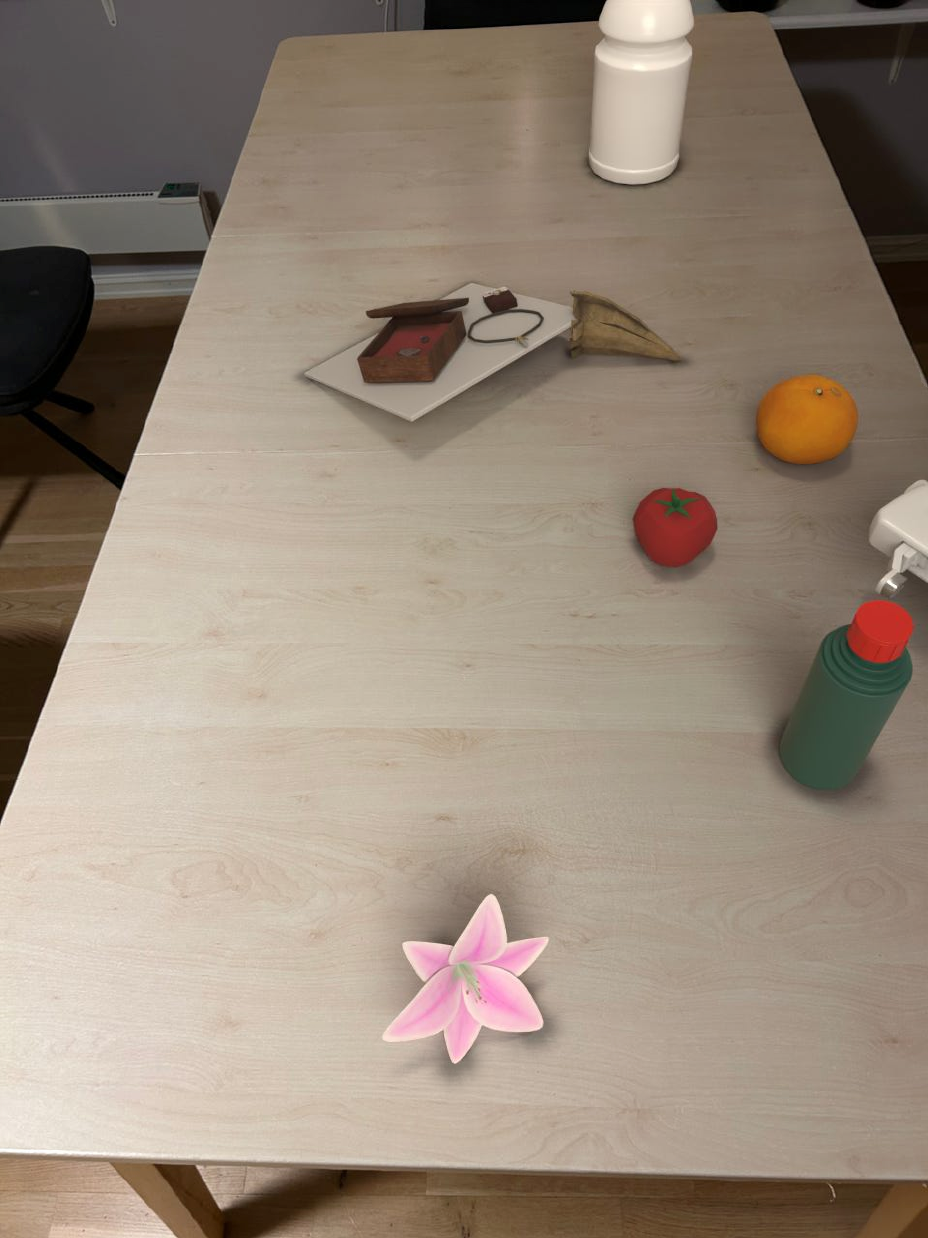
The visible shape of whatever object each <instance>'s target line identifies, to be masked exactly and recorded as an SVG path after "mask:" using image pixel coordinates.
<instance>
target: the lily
mask: <svg viewBox="0 0 928 1238" xmlns="http://www.w3.org/2000/svg"><path fill="white" fill-rule="evenodd" d="M549 940H550V938H549V937H548V936H539V937H532V938H526V939H521V940H516V941H515V940H514V941H510V942H508V935H507V930H506V925H505V920H504V915H503V912H502V908H501V906H500V903H499V901H498V899H497V897H496V896H495V895H494V894H493V893H490V894H488V895H487V896H486V897H484V899H483V900H482V902H481V903H480V904H479V906H478V908H477V909H476V911H475V913H474V914H473V916H472V917H471V919H470V921H469V922H468V924H467V925H466V927H465V929H464V930H463V932H462V933H461V935H460V936H459V938H458V939H457V940H456V942H455V944H454V945H449V944H446V943H445V944H443V943H437V942H429V941H415V940H411V941H410V940H407V941H404V942H402V949H403V952H404V955H405V957H406V958H407V960H408V962H409V964H410V965H411V967H412V969H413V970H414V971H415V973H416V974H417V976H418V977H419V978H420V979H421V981H422V982H423V983H424V986H423V987H422V988H420V990H419V991H418V992H417V994H416V995H415V996H414V997H413V999H412V1000H411V1001H410V1002H409V1003H408V1004H407V1006H406V1007H404V1009H403V1010H402V1011H401V1012H400V1013H399V1014H398V1015H397V1017H396V1018H395V1019H394V1020H393V1021H392V1022H391V1023H389V1025H388V1027H387V1028H386V1029H385V1031H384V1032H383V1033H382V1037H381V1040H382V1041H384V1042H388V1043H398V1042H408V1041H414V1040H419V1039H424V1038H427V1037H430V1036H434V1035H437V1034H439V1033H440V1032H442V1031H443V1037H444V1042H445V1045H446V1049H447V1053H448V1055H449V1056H448V1057H449V1058H450V1061H451V1063H452V1064H455V1065H456V1064H457V1063H459V1062H461V1060H462V1059H463V1058H464V1057H465V1056H466V1054H467V1053H468V1051H469V1050H470V1048H471V1047H472V1045H473V1044H474V1043H475V1041H476V1039H477V1037H478V1035H479V1033H480V1031H481V1029H482V1027H485V1028H488V1029H491V1030H493V1031H499V1032H506V1033H507V1032H508V1033H529V1032H536V1031H539V1030H541V1029H542V1028H543V1027H544V1019H543V1015H542V1013H541V1012H540V1009H539V1007H538V1005H537V1003H536V1001H535V1000H534V998H533V997H532V995H531V993H530V992H529V990H528V989H527V987H526V986H525V984H524V983H523V982H522V981H521V980H520V979H519V978H518V977H520V976H521V975H522V974H523V973H524V972H525V971H527V969H528V968H530V966H531V965H532V964H533V963H535V961H536V960H537V958H538V957H539V956H540V955H541V953H542V952H543V951H544V949H545V948H546V946H547V945H548V944H549Z"/></svg>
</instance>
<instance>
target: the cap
mask: <svg viewBox="0 0 928 1238" xmlns="http://www.w3.org/2000/svg"><path fill="white" fill-rule="evenodd" d="M850 624H851V625H850V627H849V630H848V632H847V634H846V635H847V641H848V644H849V646H850V648H851V649H852V650H853V651H854V652H855V653H856V654H857V655H858V656H860V657H861V658H863V659H865V660H868V661H871V662H876V663H886V662H890V661H893V660H895V659H896V658H898V657H899V656H901V654H902V652H903V650H904V648H905V647H906V646H907V645H908V642H909V640H910V638H911V637H912V634H913V632H914V628H915V627H914V626H915V625H914V620H913V619H912V616H911V615H910V614H909V612H907V610H906V609H905V608H903V607H902V606H900V605H899V604H896V603H894V602H892V601H889V600H883V599H875V600H874V599H873V600H868V601H865V602H864V603H863V604H860V606H859V607H858V608H857V610H856V611H855V613H854V617H853V619H852V621H851V623H850Z"/></svg>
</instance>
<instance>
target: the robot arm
mask: <svg viewBox="0 0 928 1238" xmlns="http://www.w3.org/2000/svg"><path fill="white" fill-rule="evenodd" d="M868 542H869V544H870V545H871V546H872V547H873V548H875V549H876V550H878V551H880V552H881V553H883V555H886V556H887V557H888V558H890V560H889V561H888V563H887V568H886V574H885V575H883V577H882V578H881V579H880V580H879V581H878V582H877V584H876V587H875V588H874V591H875V592H876V593H878V594H879V596H882V597H883V598H885V599H886V600H887V601H888V602H891V601H892V600H893V599H894V597H895V596H897V595H899V594H900V593H901V592H902V590H903V588H904V585H906V583H907V581H908V578H907V577H905V576H904V575H902V574H903V573H904V572H905V571H909V572H911V573H912V574H913V575H915V576H916V577H918V578H920V579H921V580H922V581H923V582H925V583H927V584H928V480H925V479H918V480H917V481H915V482H913V483H912V484H911V485H910V486H908V487H907V488H905V490H904V491H903V492H902V494H901V495H899V496H897V497H895V498H893V500H891V501H888V503H886V504H885V505H883V506H882V507H881V508H880V509H879V510H877V512H876V514H875V515H874V517H873V519H872V521H871V523H870V525H869V529H868Z"/></svg>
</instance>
